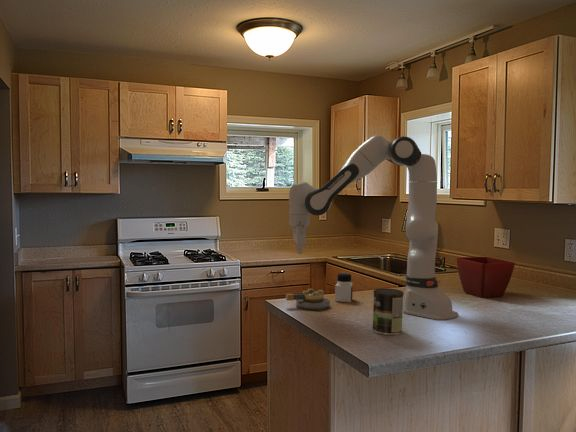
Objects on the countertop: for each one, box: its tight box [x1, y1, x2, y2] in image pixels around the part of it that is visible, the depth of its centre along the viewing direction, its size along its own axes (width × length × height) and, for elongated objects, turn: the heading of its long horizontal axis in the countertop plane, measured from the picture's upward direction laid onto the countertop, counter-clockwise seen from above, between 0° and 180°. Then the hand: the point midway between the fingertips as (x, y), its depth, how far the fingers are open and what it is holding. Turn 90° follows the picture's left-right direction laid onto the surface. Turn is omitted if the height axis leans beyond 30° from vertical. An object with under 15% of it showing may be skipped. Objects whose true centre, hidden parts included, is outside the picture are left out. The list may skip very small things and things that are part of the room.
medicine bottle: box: [334, 272, 354, 303], centre depth 220 cm, size 7×7×12 cm
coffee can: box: [372, 288, 404, 336], centre depth 174 cm, size 10×10×14 cm
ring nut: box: [285, 288, 325, 302], centre depth 207 cm, size 16×9×4 cm, turn 107°
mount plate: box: [295, 297, 331, 311], centre depth 208 cm, size 14×14×3 cm
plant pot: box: [456, 256, 516, 299], centre depth 238 cm, size 19×19×17 cm
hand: (299, 253), depth 211 cm, fingers closed
